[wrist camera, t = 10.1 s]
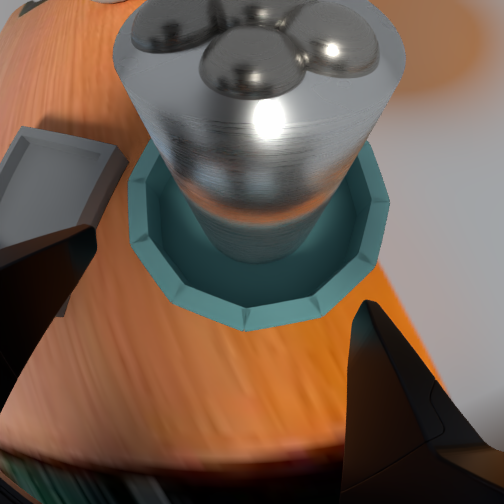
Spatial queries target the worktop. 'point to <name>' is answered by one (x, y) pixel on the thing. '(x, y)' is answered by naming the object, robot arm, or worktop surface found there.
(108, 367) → the worktop surface
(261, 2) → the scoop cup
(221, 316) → the bowl
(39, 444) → the worktop surface
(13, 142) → the parts tray
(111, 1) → the donut
